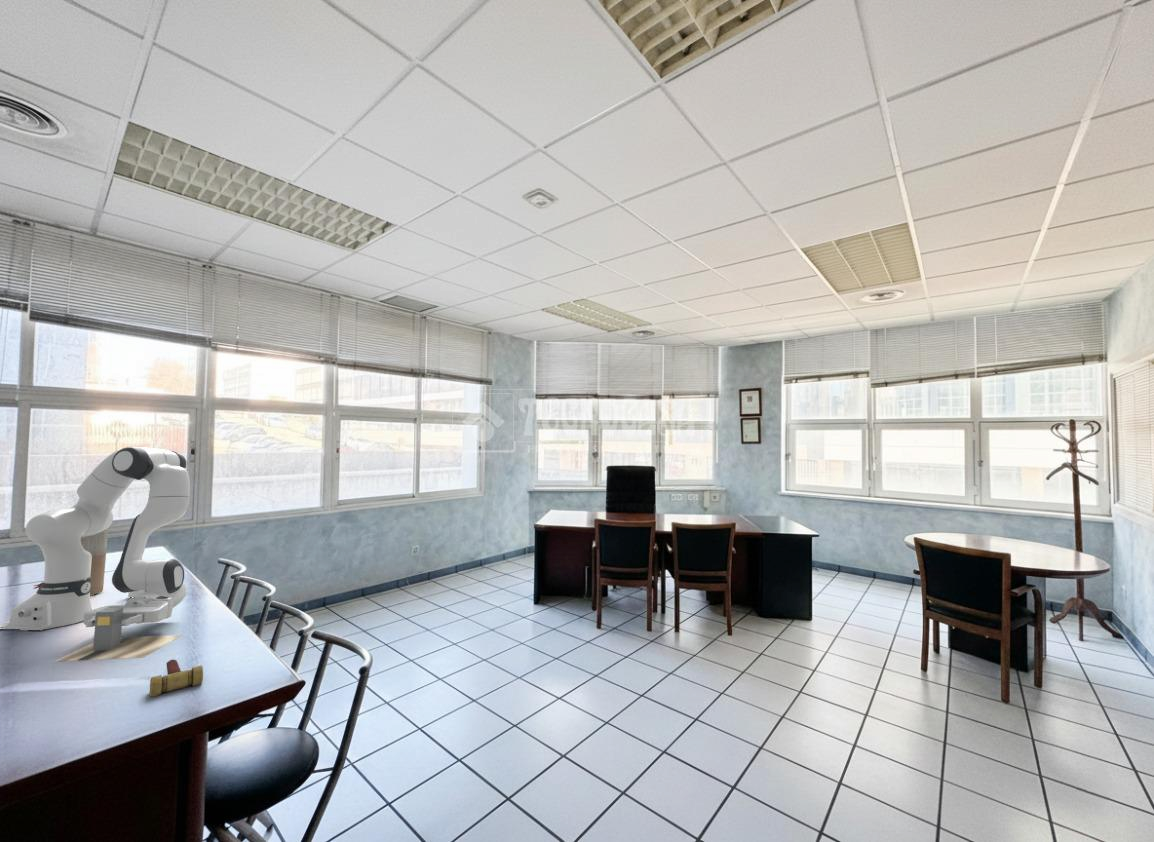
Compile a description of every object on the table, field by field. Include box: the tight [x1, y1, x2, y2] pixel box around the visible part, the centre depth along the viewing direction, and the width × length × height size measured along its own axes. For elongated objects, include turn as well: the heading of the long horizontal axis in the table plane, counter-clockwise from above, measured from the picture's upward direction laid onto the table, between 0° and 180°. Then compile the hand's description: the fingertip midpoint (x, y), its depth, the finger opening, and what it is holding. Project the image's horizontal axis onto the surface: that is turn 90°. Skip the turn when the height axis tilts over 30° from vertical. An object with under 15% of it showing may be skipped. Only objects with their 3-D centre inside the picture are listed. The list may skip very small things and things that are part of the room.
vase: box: [81, 527, 109, 596], centre depth 191 cm, size 10×10×28 cm
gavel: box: [149, 659, 204, 698], centre depth 124 cm, size 21×5×10 cm
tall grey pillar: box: [93, 608, 123, 651], centre depth 138 cm, size 4×4×11 cm
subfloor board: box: [53, 634, 183, 662], centre depth 138 cm, size 22×16×2 cm
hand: (106, 623), depth 137 cm, fingers open, 8 cm apart
